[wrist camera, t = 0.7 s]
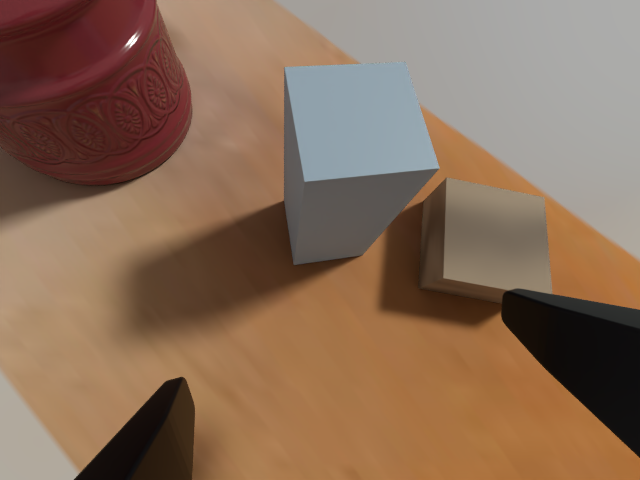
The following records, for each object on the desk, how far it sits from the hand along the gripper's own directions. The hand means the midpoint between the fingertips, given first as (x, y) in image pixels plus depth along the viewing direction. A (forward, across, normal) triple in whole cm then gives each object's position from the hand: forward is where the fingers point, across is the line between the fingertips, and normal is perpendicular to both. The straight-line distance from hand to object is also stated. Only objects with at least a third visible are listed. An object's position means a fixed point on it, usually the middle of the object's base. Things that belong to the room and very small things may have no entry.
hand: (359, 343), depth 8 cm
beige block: (+13, -13, +4) cm, 19 cm away
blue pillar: (+15, -2, +1) cm, 15 cm away
